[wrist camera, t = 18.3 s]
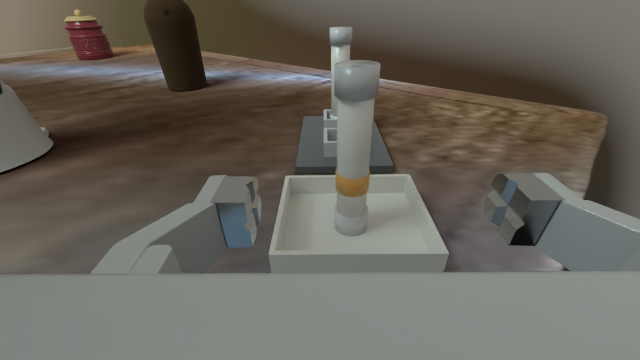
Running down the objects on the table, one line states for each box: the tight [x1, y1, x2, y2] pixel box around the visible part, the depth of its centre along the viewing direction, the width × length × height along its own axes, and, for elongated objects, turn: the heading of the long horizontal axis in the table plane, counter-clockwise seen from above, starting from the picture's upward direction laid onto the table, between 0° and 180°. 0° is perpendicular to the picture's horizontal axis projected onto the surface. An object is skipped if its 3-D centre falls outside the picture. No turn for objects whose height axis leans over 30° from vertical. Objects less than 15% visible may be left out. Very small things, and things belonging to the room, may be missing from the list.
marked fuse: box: [334, 60, 380, 237], centre depth 22 cm, size 3×3×14 cm
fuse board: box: [295, 109, 394, 174], centre depth 41 cm, size 12×18×3 cm, turn 179°
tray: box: [268, 174, 449, 273], centre depth 26 cm, size 13×11×2 cm
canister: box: [64, 10, 114, 60], centre depth 116 cm, size 13×13×18 cm
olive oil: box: [144, 0, 207, 91], centre depth 67 cm, size 11×11×25 cm
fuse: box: [330, 27, 352, 119], centre depth 41 cm, size 3×3×14 cm
